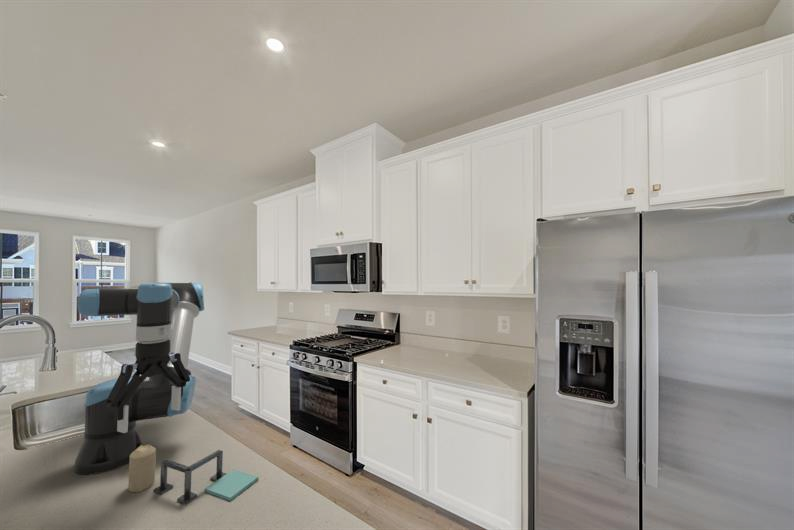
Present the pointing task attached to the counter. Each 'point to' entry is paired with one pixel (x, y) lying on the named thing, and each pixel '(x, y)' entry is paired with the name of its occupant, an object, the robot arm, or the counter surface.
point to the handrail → (188, 475)
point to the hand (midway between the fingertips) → (151, 419)
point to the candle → (142, 468)
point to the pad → (231, 484)
